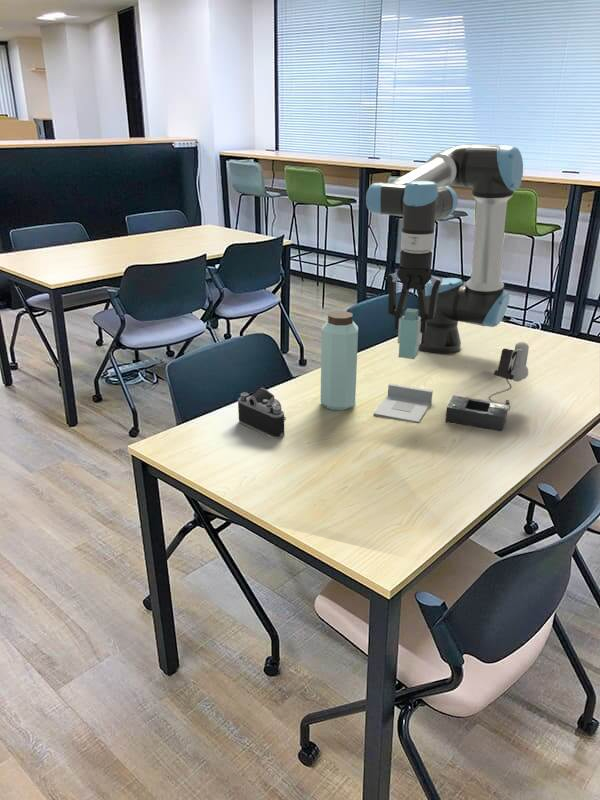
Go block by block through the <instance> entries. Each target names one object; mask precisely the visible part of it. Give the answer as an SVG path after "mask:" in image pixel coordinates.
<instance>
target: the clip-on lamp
mask: <svg viewBox="0 0 600 800" xmlns="http://www.w3.org/2000/svg"><path fill="white" fill-rule="evenodd" d="M514 346H515V347H514V349H509V348H503V349H502V350H501V354H500V358H499V359H500V360H499V362H498V363H499V364H498V369H496V370H494V371H493V376H496V377H499V378H502V379H505V380H506V382H507V385H509V387H508V388H507V389H504V390H499V391H497V392H494V393H492V394H490V395H489V396H488V401H491V402H497V401H494V400H492V399H491V398H492V397H493V396H496V395H498V394H502V393H505V392H508V391H510V390H511V389H513V387H512V385H511V383H510V381H509V380H511V381H512V380H513V381H514V382H521V381H523V380H525V379H527V377H528V375H529V368H528V366H527V364H528V356H529V355H528V354H529V348H530V346H529V344H528V343H526V342H525V341H519V342H517V343H516V344H515V345H514ZM497 403H499V402H497ZM505 404H509V405H510V400H509V399H506V400H505Z"/></svg>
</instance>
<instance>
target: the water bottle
mask: <svg viewBox="0 0 600 800" xmlns="http://www.w3.org/2000/svg"><path fill="white" fill-rule="evenodd" d="M353 314H354V313H353V312H349V311H346V310H336V311H334V310H333V311H331V312H328V315H327V321H326V322H325V323H324V324H322V327H321V338H320V339H321V342H320V343H321V347H320V348H321V352H320V403H321V405H322V406H324V407H325V408H327V409H329V410H331V411H345V410H347V409H351V408H352V407H353V406H354V405H355V404H356V396H357V395H356V392H357V391H356V388H357V369H358V368H357V366H358V365H357V364H358V343H359V341H358V339H359V326H358V325H357V324H356V323H355V321H354V320H353V319H354V317H353Z"/></svg>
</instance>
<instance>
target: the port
mask: <svg viewBox="0 0 600 800" xmlns="http://www.w3.org/2000/svg"><path fill="white" fill-rule="evenodd" d="M511 408H512V406H511V405H510V404H506V403H502V402H498V403H497V401H495V402H491V401H490V400H484V399H477V398H473V397H472V398H471V397H465V396H459V395H452V397H451V399H450V400H449V402H448V404H447V405H446V411H445V412H446V413H445V420H444V422H445V423H447V424H453V425H459V426H466V427H471V428H476V429H477V428H478V429H485V430H490V431H496V432H503V431H504V427H505V425H506V421H507V418H508V412H510V411H511Z"/></svg>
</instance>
